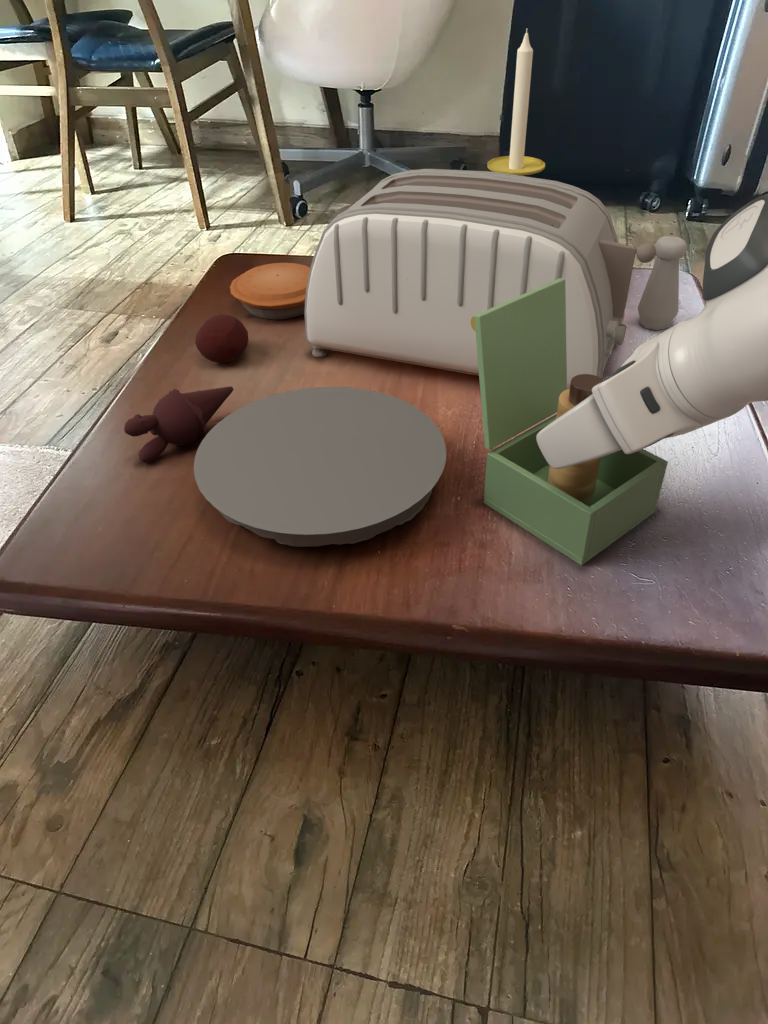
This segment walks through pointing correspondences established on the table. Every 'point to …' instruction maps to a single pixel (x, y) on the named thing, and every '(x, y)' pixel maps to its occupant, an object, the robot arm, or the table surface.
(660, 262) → the salt shaker
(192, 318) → the table surface
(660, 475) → the green box
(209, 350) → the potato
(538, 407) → the box lid
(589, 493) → the pepper mill
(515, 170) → the candle
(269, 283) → the pie
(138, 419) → the gnome figurine
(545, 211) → the toaster
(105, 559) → the table surface
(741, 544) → the table surface
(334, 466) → the flat disc
